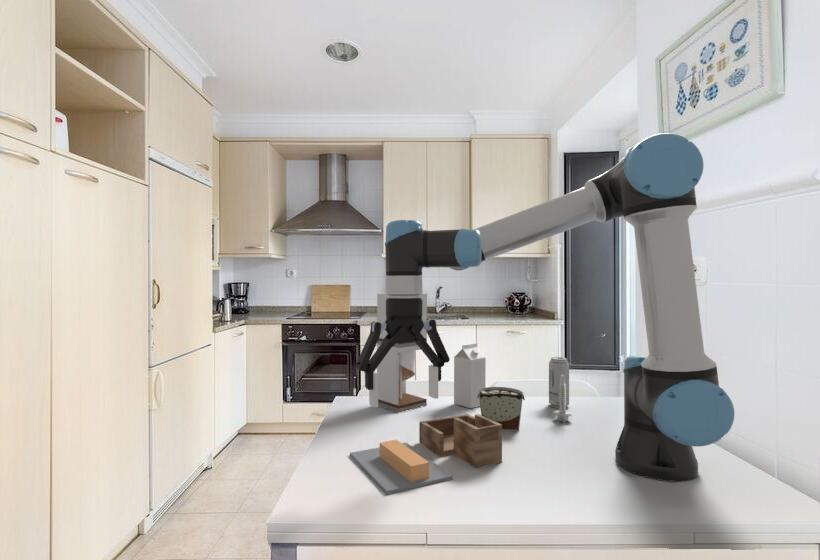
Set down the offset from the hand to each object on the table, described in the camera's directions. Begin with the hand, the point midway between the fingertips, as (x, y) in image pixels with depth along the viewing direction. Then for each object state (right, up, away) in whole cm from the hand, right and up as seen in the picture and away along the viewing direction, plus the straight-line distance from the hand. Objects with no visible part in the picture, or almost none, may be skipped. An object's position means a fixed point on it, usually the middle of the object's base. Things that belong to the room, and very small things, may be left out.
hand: (404, 401), depth 89 cm
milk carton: (+20, -15, +49) cm, 55 cm away
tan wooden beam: (0, -14, +1) cm, 14 cm away
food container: (+25, -15, +28) cm, 40 cm away
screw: (+44, -15, +33) cm, 57 cm away
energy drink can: (+48, -15, +48) cm, 69 cm away
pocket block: (+14, -14, +11) cm, 23 cm away
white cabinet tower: (-2, -15, +48) cm, 50 cm away
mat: (-1, -14, +2) cm, 14 cm away
